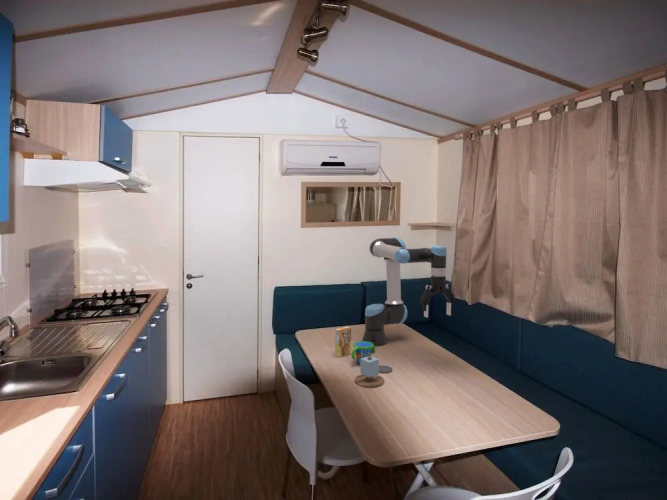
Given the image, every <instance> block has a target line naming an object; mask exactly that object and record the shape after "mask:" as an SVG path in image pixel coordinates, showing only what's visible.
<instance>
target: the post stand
mask: <svg viewBox="0 0 667 500" xmlns="http://www.w3.org/2000/svg"><path fill="white" fill-rule="evenodd" d="M354 382H355V384H356V385H357V386H359V387H362V388H369V389H374V388H379V387H382V386H383V385H385V379H384V378H383V376H381V375H375V376H372V377H367V376H365V375H363V374H359V375H357V376H355V378H354Z"/></svg>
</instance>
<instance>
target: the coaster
mask: <svg viewBox="0 0 667 500" xmlns="http://www.w3.org/2000/svg"><path fill="white" fill-rule="evenodd" d="M392 372H393V367H391V366H390V365H389V366H388V365H382V364H381V365H379V374H390V373H392Z"/></svg>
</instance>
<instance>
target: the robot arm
mask: <svg viewBox="0 0 667 500" xmlns="http://www.w3.org/2000/svg"><path fill="white" fill-rule="evenodd" d="M369 253H370V254H371V256H373V257H377V258H383V260H384V261H385V263H386V300H385V302H384V304H382V303H372V304H370V305H367V306H366V307H365V312H364V315H365V316H364V317H365V318H364V321H365V322H364V323H365V325H364V327H365V328H364V329H365V330H364V333H363V336H362V337H361V338H362V340H361V341H366V342H371V343H373V344H374V347H379V346H384V345H386V344H387V342H388V341H387V340H388V339H387V337H386V336H387V335H386V332H385V326H386V325H387V326H388V325H398V324H402V323H405V321H406V320H407V318H408V309H407V306H406V305H405V304H404V301H403V300H402V298H401V297H402V292H401V289H402V288H401V264H414V263H417V264H418V263H430V275H431V276H430V285H428V284H426V285H425V286H424V290H423V292H422V295H421V297H420V299H419V304H421V305H422V311H423V317H425V318H429V302H431V300H432V298H433V297H434V296H435V295H438V294H442V295H443V297H444V298H445V299H446V314H445V315H448V316H452V312H451V311H452V309H453V304H454V303H455V302H456V300H457V299H456V298H455V294H454V293H453V290H452V288H451V287H452V285H451V284H449V283H447V281H446V280H447V276H446V273H447V256H448V255H447V247H446V246H445V245H432V246H431V248H429V247H420V248H407V247H406V243H405V242H404V240H403V239H402V238H400V237H391V238H390V237H387V238H383V237H382V238H381V237H380V238H376V239H374V240H373V241H372V242H371V243H370V244H369Z"/></svg>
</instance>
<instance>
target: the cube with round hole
mask: <svg viewBox="0 0 667 500" xmlns="http://www.w3.org/2000/svg"><path fill="white" fill-rule="evenodd" d="M359 366H360V367H359V368H360V370H359V371H360V372H359V373H360V375H365V376H367V377H372V376H375V375H378V376H380V373H379V366H380V359H378V358H376V357H374V356H372V355H371V356H368V357H364V358H360V365H359Z"/></svg>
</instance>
